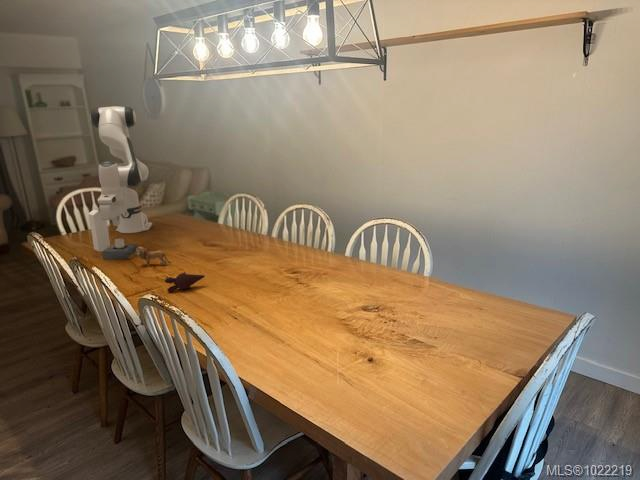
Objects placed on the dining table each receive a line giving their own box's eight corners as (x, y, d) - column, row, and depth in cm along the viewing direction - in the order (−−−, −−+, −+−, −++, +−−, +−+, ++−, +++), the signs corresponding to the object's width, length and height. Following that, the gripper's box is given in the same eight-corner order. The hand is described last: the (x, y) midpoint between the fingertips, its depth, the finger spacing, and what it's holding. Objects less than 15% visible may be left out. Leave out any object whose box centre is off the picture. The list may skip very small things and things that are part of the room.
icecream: (201, 266, 184) (162, 276, 178) (204, 267, 177) (164, 277, 171) (205, 283, 184) (167, 293, 178) (208, 285, 178) (169, 295, 172)
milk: (99, 252, 227) (91, 209, 221) (94, 249, 231) (86, 207, 225) (111, 249, 232) (104, 206, 225) (106, 247, 236) (99, 205, 229)
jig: (114, 251, 227) (113, 244, 226) (140, 251, 227) (139, 243, 226) (103, 259, 216) (102, 251, 215) (130, 259, 216) (128, 250, 215)
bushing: (119, 253, 224) (116, 238, 221) (127, 253, 224) (124, 238, 221) (115, 256, 220) (113, 240, 217) (123, 256, 220) (121, 240, 217)
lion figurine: (136, 268, 203) (133, 248, 201) (139, 264, 208) (136, 245, 206) (170, 265, 205) (168, 246, 203) (172, 261, 210) (170, 243, 208)
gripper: (115, 192, 223) (119, 220, 227) (95, 200, 204) (100, 230, 208) (128, 192, 223) (132, 219, 227) (109, 200, 204) (113, 230, 208)
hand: (116, 225), depth 217 cm, fingers closed
